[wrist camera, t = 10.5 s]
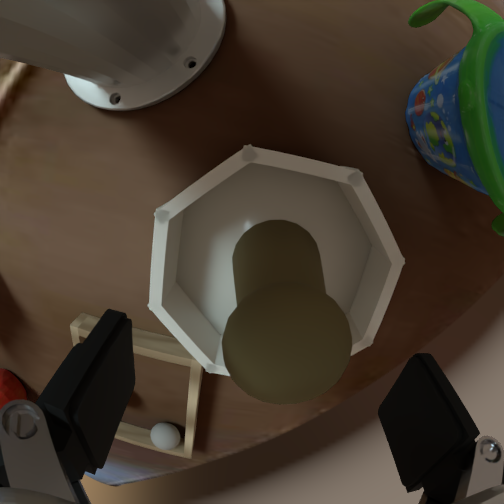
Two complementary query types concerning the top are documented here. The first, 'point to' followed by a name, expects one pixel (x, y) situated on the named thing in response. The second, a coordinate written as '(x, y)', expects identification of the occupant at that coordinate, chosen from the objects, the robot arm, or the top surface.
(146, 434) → the tray
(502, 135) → the snack cup
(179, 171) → the top surface
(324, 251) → the bowl
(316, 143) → the top surface
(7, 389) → the apple
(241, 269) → the olive rounded tall piece
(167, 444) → the pebble
